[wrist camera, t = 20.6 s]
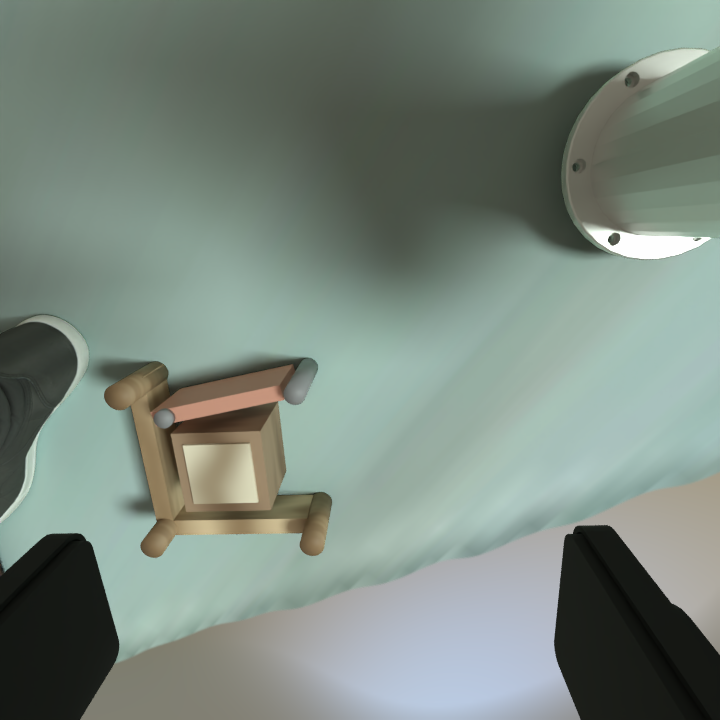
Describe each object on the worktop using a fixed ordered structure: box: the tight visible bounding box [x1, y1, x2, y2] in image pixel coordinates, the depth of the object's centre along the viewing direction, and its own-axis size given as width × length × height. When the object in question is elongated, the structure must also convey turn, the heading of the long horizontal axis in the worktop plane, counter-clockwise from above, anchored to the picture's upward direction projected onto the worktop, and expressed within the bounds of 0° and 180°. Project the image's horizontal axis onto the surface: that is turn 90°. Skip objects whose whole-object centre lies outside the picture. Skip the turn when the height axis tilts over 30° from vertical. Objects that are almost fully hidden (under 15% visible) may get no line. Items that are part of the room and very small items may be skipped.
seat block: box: [171, 402, 286, 512], centre depth 37 cm, size 7×7×6 cm
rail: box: [150, 358, 318, 429], centre depth 34 cm, size 12×2×6 cm, turn 103°
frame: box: [104, 361, 332, 558], centre depth 37 cm, size 16×16×6 cm
